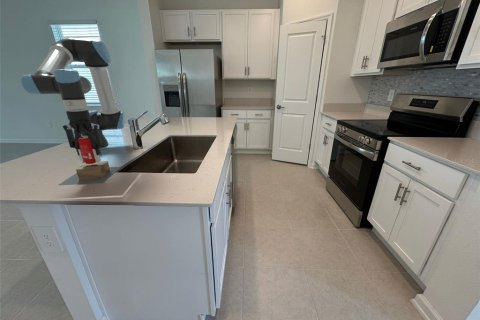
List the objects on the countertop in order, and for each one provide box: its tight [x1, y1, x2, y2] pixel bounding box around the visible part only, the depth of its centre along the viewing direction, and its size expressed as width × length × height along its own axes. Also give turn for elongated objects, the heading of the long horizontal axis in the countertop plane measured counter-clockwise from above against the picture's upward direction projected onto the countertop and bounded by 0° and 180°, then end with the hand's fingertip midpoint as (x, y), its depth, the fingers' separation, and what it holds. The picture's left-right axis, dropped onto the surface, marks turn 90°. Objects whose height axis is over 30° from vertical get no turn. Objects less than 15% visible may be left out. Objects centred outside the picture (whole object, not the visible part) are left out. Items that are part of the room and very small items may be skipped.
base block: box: [75, 160, 110, 180], centre depth 93 cm, size 9×9×5 cm
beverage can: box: [78, 135, 96, 164], centre depth 89 cm, size 5×5×12 cm
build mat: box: [58, 166, 122, 186], centre depth 94 cm, size 18×18×1 cm
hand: (91, 161), depth 91 cm, fingers closed on beverage can, 5 cm apart
